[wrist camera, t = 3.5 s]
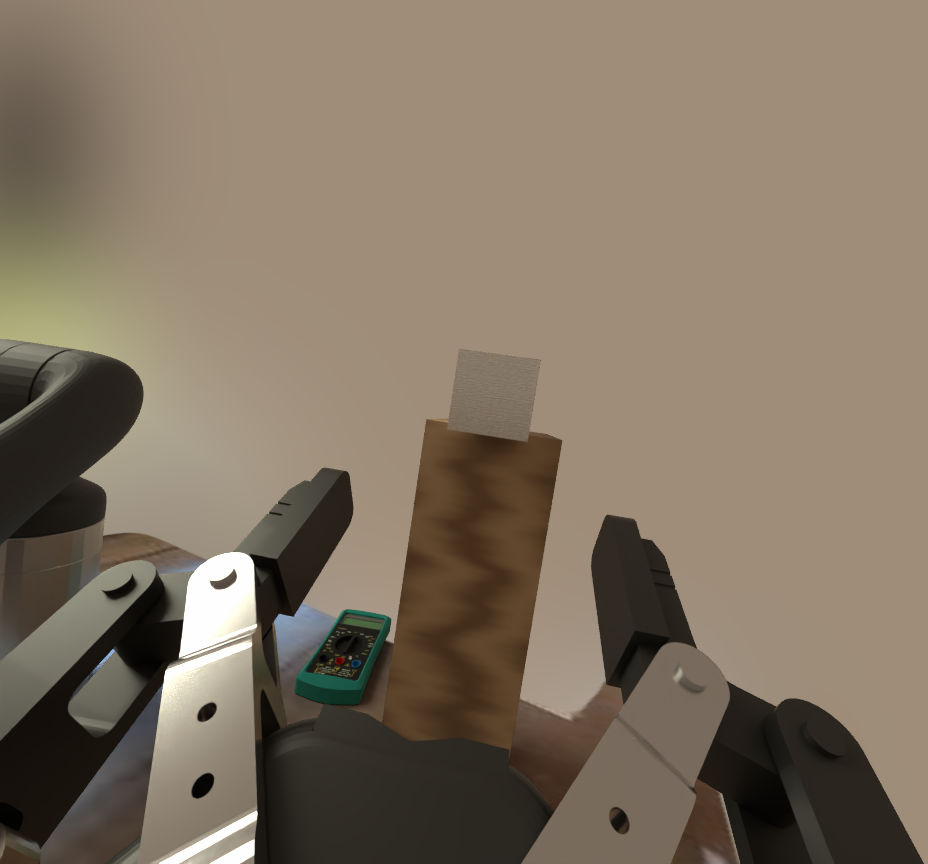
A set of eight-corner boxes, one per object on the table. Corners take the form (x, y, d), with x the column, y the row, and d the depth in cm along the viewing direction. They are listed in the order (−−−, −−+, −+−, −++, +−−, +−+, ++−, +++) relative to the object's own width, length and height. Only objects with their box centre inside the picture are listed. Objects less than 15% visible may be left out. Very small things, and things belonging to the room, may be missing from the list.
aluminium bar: (447, 429, 19) (458, 349, 18) (478, 422, 41) (484, 386, 40) (527, 441, 18) (540, 359, 18) (515, 428, 40) (521, 391, 40)
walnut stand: (368, 819, 30) (426, 419, 28) (402, 719, 40) (447, 418, 38) (493, 854, 29) (562, 440, 27) (496, 741, 39) (547, 434, 37)
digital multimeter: (289, 702, 40) (293, 675, 40) (341, 623, 55) (344, 604, 55) (356, 714, 40) (360, 688, 40) (390, 632, 55) (393, 613, 55)
